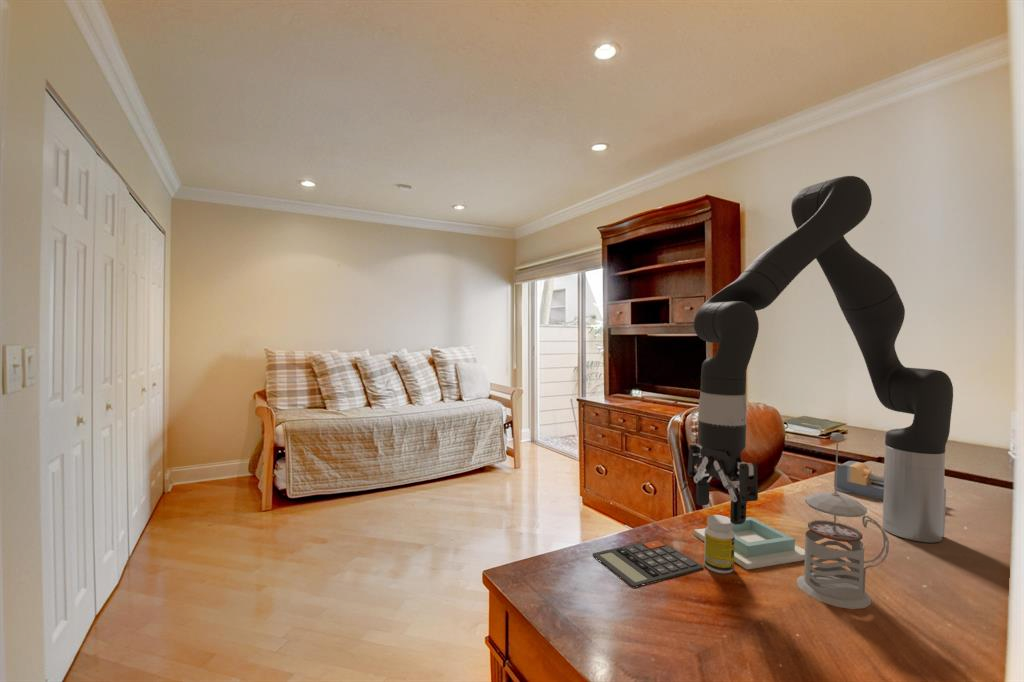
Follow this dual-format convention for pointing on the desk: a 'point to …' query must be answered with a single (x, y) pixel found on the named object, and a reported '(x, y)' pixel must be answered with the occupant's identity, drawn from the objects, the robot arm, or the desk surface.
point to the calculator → (647, 562)
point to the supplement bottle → (719, 544)
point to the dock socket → (760, 545)
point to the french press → (837, 551)
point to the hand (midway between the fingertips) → (718, 513)
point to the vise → (859, 480)
